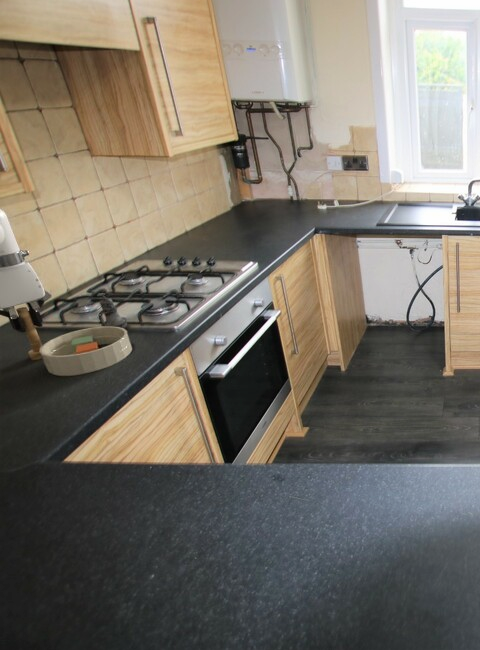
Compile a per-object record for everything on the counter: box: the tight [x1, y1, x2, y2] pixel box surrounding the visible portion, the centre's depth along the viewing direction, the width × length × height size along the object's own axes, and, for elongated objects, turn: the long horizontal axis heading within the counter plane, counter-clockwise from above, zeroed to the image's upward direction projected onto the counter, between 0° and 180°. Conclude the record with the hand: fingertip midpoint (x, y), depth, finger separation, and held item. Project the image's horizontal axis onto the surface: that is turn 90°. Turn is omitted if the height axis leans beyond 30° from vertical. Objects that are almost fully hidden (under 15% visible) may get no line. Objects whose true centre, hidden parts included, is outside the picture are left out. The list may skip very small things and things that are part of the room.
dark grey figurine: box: [99, 295, 128, 329], centre depth 136 cm, size 6×6×12 cm
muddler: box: [15, 306, 43, 361], centre depth 122 cm, size 4×4×14 cm
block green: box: [72, 335, 94, 354], centre depth 125 cm, size 4×4×4 cm
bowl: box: [39, 326, 133, 377], centre depth 123 cm, size 17×17×6 cm
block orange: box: [76, 342, 100, 354], centre depth 122 cm, size 4×4×4 cm
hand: (29, 327), depth 121 cm, fingers closed
